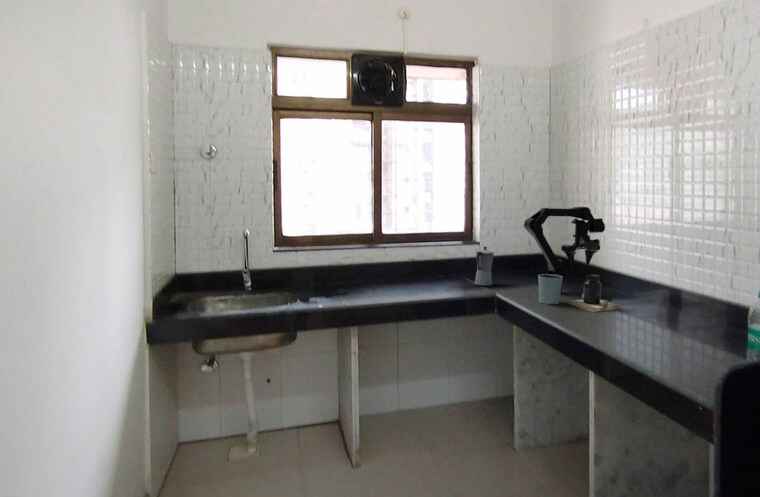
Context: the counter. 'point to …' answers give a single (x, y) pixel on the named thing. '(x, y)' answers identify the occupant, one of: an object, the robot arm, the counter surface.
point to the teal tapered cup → (549, 288)
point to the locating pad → (594, 308)
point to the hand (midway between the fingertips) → (580, 265)
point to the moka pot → (484, 267)
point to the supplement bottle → (592, 290)
